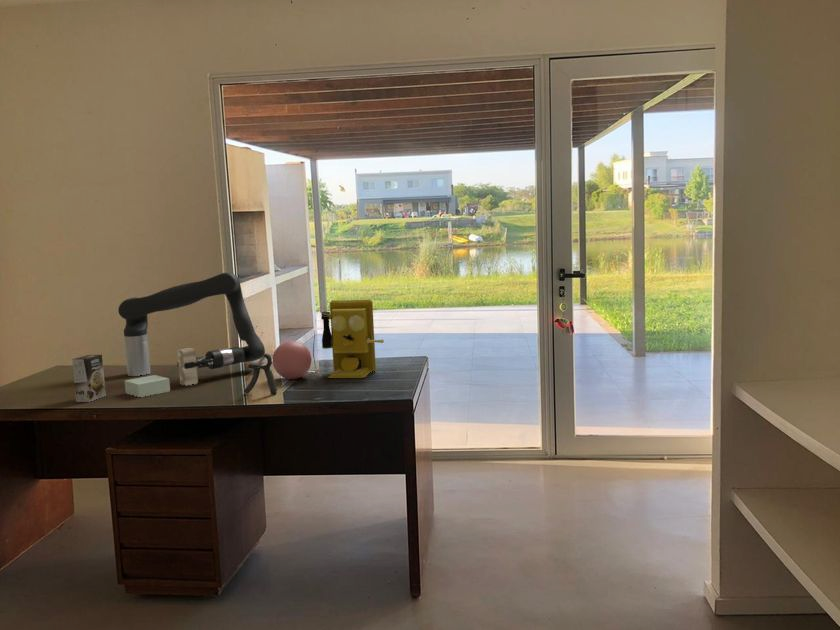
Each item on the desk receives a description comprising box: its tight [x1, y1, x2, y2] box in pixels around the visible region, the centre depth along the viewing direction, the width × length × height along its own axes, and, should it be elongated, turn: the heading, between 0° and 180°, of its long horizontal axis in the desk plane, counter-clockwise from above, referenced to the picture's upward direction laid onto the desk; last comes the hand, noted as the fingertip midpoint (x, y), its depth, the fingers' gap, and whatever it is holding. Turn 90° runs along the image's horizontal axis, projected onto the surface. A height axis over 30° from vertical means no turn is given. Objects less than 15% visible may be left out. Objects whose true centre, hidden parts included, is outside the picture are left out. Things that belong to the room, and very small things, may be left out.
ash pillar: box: [176, 347, 199, 387], centre depth 279 cm, size 5×5×14 cm
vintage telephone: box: [312, 299, 384, 379], centre depth 283 cm, size 31×14×30 cm, turn 80°
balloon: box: [272, 340, 313, 380], centre depth 284 cm, size 15×20×15 cm
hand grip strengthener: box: [243, 353, 278, 395], centre depth 257 cm, size 2×13×15 cm, turn 78°
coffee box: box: [71, 354, 107, 403], centre depth 260 cm, size 9×6×16 cm
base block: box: [124, 374, 171, 398], centre depth 268 cm, size 12×12×5 cm
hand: (181, 365), depth 277 cm, fingers closed on ash pillar, 5 cm apart
